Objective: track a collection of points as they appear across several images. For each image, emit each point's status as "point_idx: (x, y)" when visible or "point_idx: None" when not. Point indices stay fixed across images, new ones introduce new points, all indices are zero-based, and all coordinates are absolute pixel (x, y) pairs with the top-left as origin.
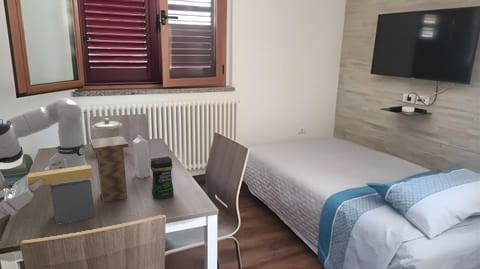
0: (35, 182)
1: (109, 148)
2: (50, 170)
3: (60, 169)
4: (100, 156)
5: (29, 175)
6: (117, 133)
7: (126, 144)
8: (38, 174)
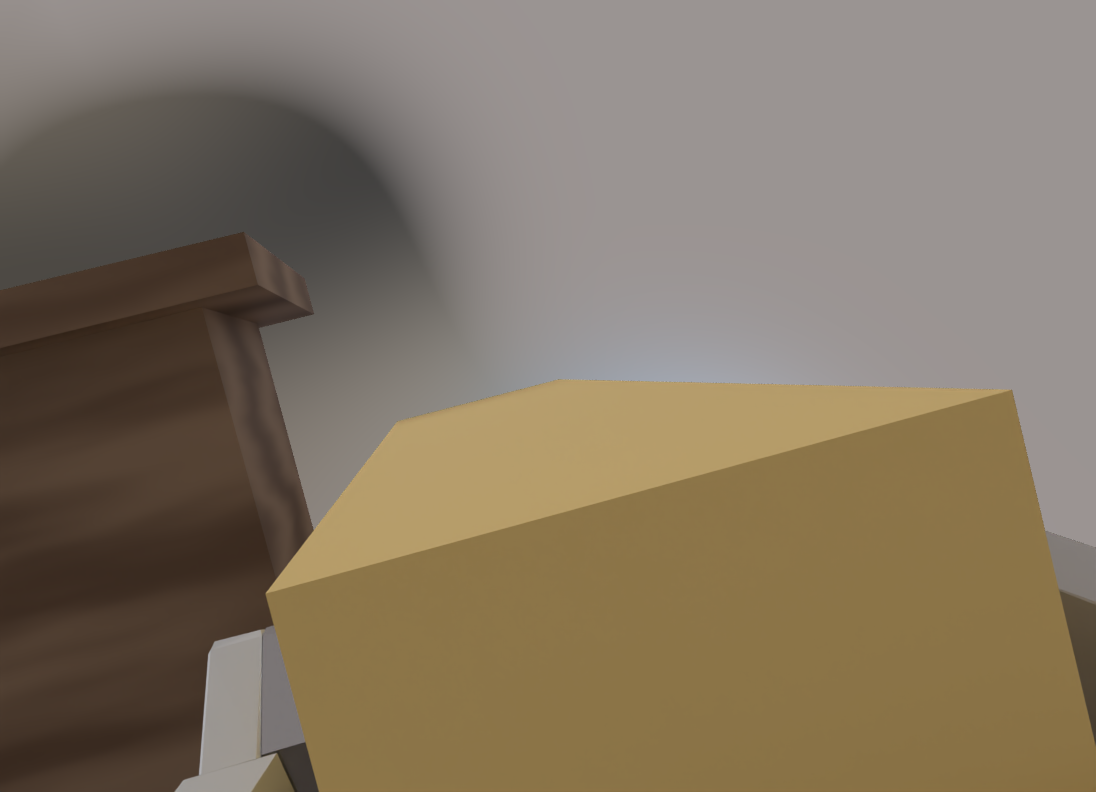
0: (1069, 560)
1: (285, 289)
2: (374, 465)
3: (414, 441)
4: (232, 413)
5: (672, 467)
6: None
7: (304, 284)
8: (639, 426)
